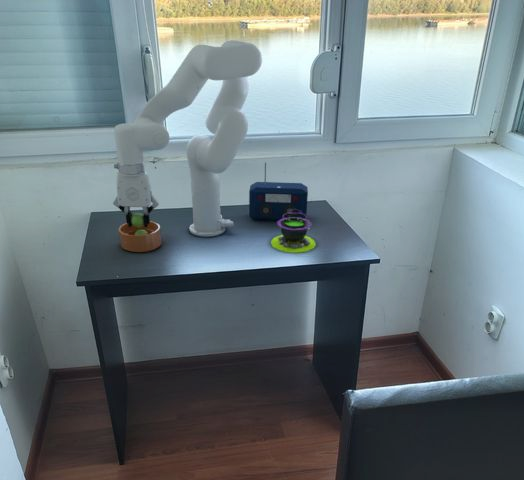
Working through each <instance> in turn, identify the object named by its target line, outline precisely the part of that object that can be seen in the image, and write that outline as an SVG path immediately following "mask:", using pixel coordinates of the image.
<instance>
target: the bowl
mask: <svg viewBox="0 0 524 480" xmlns="http://www.w3.org/2000/svg"><path fill="white" fill-rule="evenodd" d="M138 230H145V231H146V232H147V233H148V234H145V235H135V233H136V232H137V231H138ZM161 231H162V229H161V225H160V224H159V223H157V222H156V221H152V220H150V224H148V226H147V227H144V225H143V226H142V227H140V228H137V227H135V226H133V225H132V226H131V227H129V225H128V223H127V222H125V223H123V224H121V225H119V227H118V235H119V242H120V247H121V248H122V249H123V250H126V251H128V252H130V253H131V252H132V253H146V252H147V253H148V252H151V251H153V250H154V251H155V249H158V248H159V247H160V246H161V245H162V243H163V240H162V239H163V238H162V232H161Z"/></svg>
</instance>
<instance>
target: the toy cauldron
mask: <svg viewBox="0 0 524 480" xmlns="http://www.w3.org/2000/svg"><path fill="white" fill-rule="evenodd" d="M293 210H294V209H293ZM295 210H296V209H295ZM299 211H300V210H299ZM289 212H290V211H289ZM290 213H291V214H292V212H290ZM296 213H297V212H296ZM301 213H302V212H301ZM299 214H300V213H299ZM284 215H285V214H284ZM284 215H283V216H284ZM304 215H305V214H304ZM289 216H290V215H289ZM283 219H284V220H283ZM283 219H282V221H281V220H280V221H277V226H279V227H280V232H281V234H280V235H276V236H275V237H273V238H272V239H271V242H270V245H271V246H272V248H274V249H276V250H278V251H280V252H285V253H292V254H300V253H305V252H310V251H311V250H314V249H315V247H316V242H315V241H316V240H314V238H311V237H310V236H307V233H308V230H311V227H312V221H310V220H309V219H307V215H306V218H305V219H301V218H299V217H298V218H297V217H296V218H294V217H292V218H290V217H289V218H288V217H287V218H286V219H285V218H283Z"/></svg>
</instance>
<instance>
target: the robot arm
mask: <svg viewBox="0 0 524 480" xmlns="http://www.w3.org/2000/svg"><path fill="white" fill-rule="evenodd" d="M262 64H263V55H262V52H261V50H260V49H259V47H258V46H257V45H256V44H254V43H251V42H246V41H240V40H234V39H233V40H232V39H231V40H230V39H229V40H226V41H224V42H223V43H222V44H221V46H212V45H207V44H197V45H195V46H193V47H192V48H191V49H190V51H189V52H188V53H187V55H186V56H185V58H183V61H181V64H180V65H179V67H178V68H177V70H176V71H175V73H174V74H173V76H171V78H170V80H169V82H168V83H167V84H166V85H165V86H164V87H163V88H161V89H160V90H159V91H158V92H156V93H155V95H152V97H151V98H150V99H149V100H148V101H146V104H144V106H143V107H142V109H141V110H140V111H139V113H138V115H137V116H136V118H135V119H134V122H133V123H129V122H128V123H127V122H126V123H125V122H124V123H119V124H116V125H115V126H114V129H113V134H114V141H115V148H116V149H115V150H116V156H117V163H114V164H113V168H114V169H117V170H118V172H117V173H116V197H115V199H114V201H113V202H112V204H113V206H115V207H116V208H118V209H119V210H120V211H121V212H122V213H123V214H124V215H125V220H126V222H125V223H128V225H129V227H131V226H132V223H131V217H132V215H133V213H132V211H131V208H142V210H143V214H142V215H143V218H144V227H147V226H148V224H150V221H151V220H150V219H151V218H150V213H152V211H153V210H154V209H156V208H157V207H159V205H160V203H159V201H158V199H156V198H155V196H154V195H153V193H152V191H153V190H152V186H151V182H150V177H149V175H148V172H147V171H146V170H145V169H146V168H145V161H144V160H145V159H144V151H160V150H163V149H165V148H166V147H167V146H168V145H169V143H170V133H169V131H168V129H167V128H166V127H165V126H164V125H162V124H163V123H164V121H165V120H167V118H168V117H169V116H170V115H172V114H173V113H176V112H178V111H179V110H183V109H186V108H188V107H189V106H191V105H192V104H193V103H194V101H195V99H196V98H197V96H198V95H199V94H200V92H201V90H202V89H203V87H204V86H205V85H206V84H207V82H208V81H209V80H211V81H222V83H221V85H220V88H219V91H218V93H217V95H216V97H215V98H214V100H213V102H212V104H211V106H210V108H209V110H208V112H207V114H206V116H205V120H204V121H205V127H206V129H207V130H208V131H209V132H210V133H211V134H212V135H214V136H213V137H211V136H209V135H206V134H196V135H194V136H192V137H191V138H190V139H189V141H188V142H187V145H186V160H187V164H188V167H189V176H190V188H191V190H190V191H191V204H192V206H191V207H192V219H193V220H192V221H193V222H192V224H190V226H189V232H190V233H191V234H192V235H193V236H196V237H197V236H198V237H203V238H209V237H217V236H219V235H222V234H223V233H225V231H226V228H227V227H228V228H234V221H231V219H224V218H223V215H222V214H221V189H220V184H221V183H220V174H222V173H224V172H225V171H227V169H228V168H229V167H230V166H231V164H232V163H233V161H234V159H235V157H236V156H237V153H238V152H239V150H240V148H241V146H242V144H243V142H244V140H245V139H246V136H247V134H248V130H249V129H248V128H249V120H248V117H247V116H246V114H245V113H244V112H243V111H242V108H243V106H244V104H245V102H246V99H247V97H248V94H249V78H248V77H251V76H254V75H255V74H256V73H258V71H260V69H261V66H262Z"/></svg>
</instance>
